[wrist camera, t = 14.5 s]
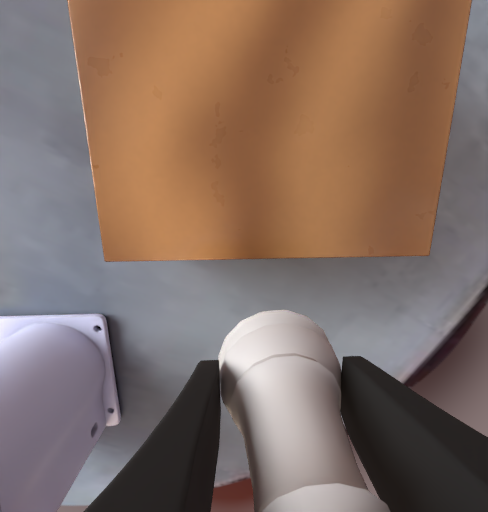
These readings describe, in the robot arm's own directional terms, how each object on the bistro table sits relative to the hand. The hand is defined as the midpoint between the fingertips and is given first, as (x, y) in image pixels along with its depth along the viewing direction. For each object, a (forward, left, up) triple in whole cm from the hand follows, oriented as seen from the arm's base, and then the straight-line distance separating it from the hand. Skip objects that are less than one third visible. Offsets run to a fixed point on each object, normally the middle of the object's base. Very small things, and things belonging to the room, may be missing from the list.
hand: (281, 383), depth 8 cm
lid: (+10, 0, -4) cm, 10 cm away
